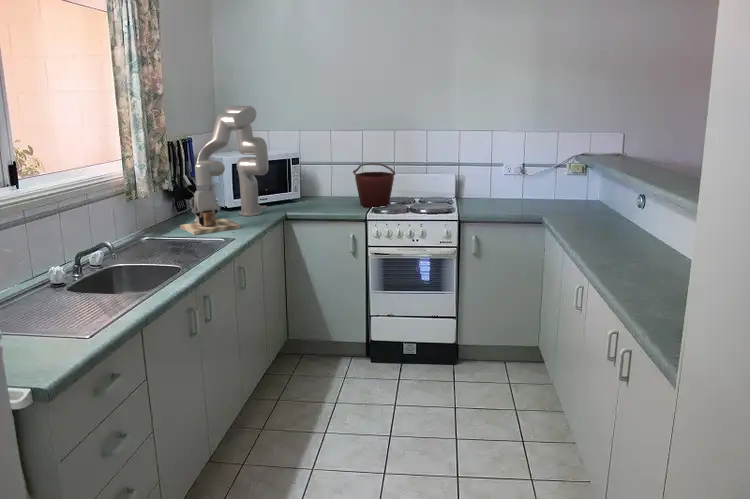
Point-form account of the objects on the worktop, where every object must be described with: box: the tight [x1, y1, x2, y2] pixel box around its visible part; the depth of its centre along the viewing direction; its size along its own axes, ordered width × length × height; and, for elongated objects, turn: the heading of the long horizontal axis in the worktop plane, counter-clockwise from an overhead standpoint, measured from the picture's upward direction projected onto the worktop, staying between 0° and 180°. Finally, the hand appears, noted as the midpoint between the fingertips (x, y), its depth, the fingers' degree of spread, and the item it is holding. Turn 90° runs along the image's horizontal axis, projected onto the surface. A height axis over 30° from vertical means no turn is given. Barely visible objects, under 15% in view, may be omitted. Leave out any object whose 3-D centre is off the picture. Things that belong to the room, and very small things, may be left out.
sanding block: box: [199, 211, 216, 227], centre depth 311 cm, size 5×9×6 cm, turn 37°
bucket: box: [352, 162, 396, 209], centre depth 366 cm, size 24×22×25 cm
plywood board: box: [179, 218, 241, 236], centre depth 313 cm, size 24×18×2 cm
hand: (207, 223), depth 312 cm, fingers closed on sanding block, 5 cm apart
